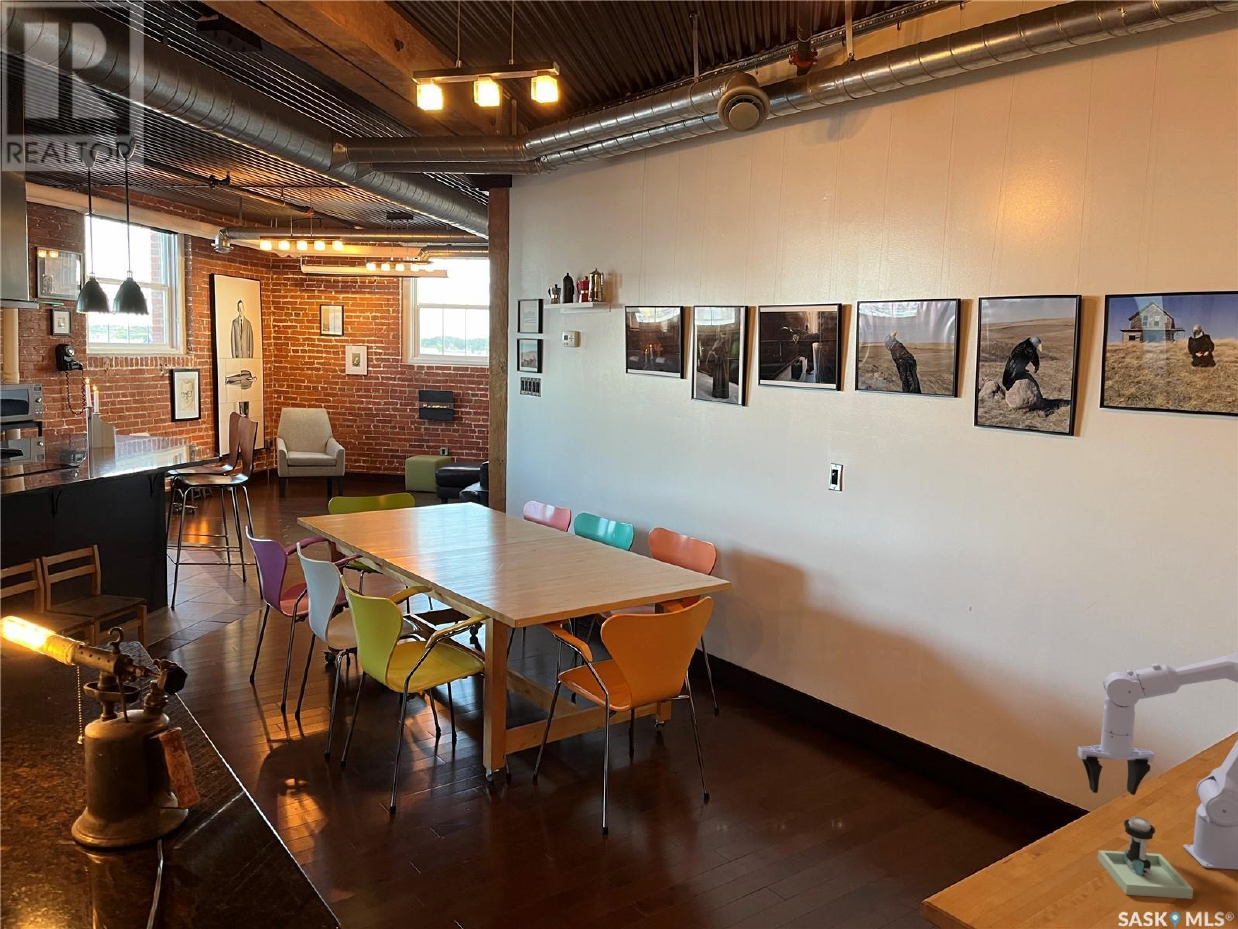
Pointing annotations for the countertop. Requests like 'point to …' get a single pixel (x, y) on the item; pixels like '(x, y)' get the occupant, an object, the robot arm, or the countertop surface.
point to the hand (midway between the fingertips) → (1112, 791)
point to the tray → (1132, 883)
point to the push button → (1138, 845)
